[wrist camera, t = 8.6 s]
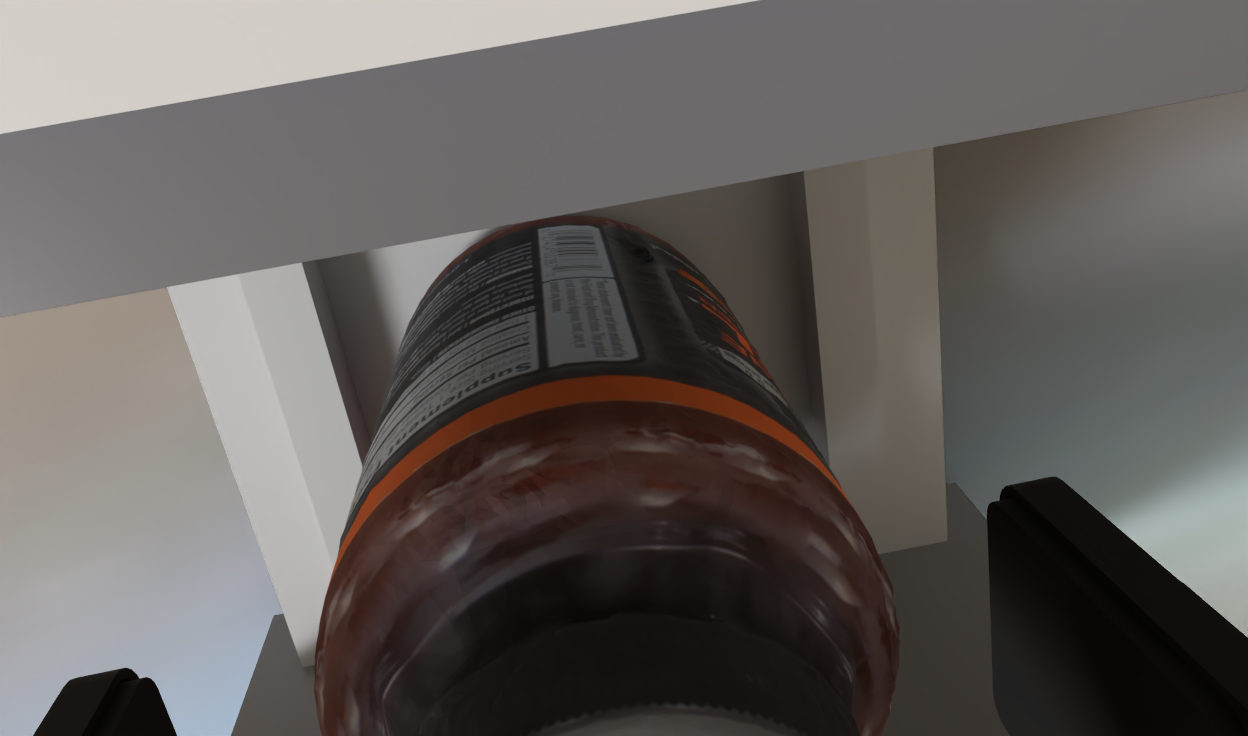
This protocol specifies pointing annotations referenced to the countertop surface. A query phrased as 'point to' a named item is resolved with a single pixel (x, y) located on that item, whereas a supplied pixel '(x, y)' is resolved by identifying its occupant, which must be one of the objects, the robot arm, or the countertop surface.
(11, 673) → the countertop surface
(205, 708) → the countertop surface
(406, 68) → the box
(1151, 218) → the countertop surface
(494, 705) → the supplement bottle
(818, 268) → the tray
